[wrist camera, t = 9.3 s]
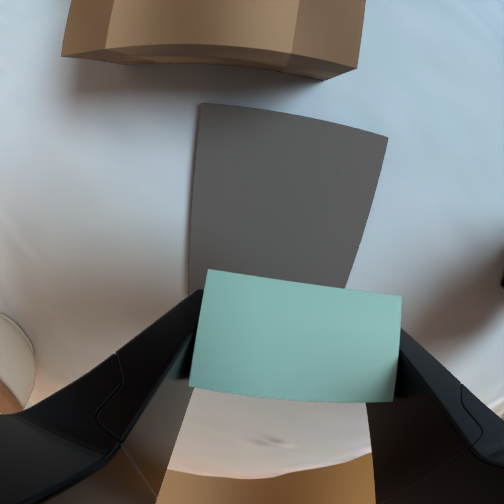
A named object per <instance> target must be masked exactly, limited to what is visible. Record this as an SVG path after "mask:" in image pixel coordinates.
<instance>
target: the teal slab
mask: <svg viewBox="0 0 504 504" xmlns="http://www.w3.org/2000/svg"><path fill="white" fill-rule="evenodd" d="M401 302H402V296H398V295H389V294H381V293H373V292H365V291H358V290H350V289H342V288H335V287H327V286H320V285H313V284H306V283H298V282H291V281H284V280H277V279H271V278H264V277H257V276H251V275H244V274H237V273H231V272H225V271H218V270H212V269H208V272H207V277H206V283H205V288H204V294H203V299H202V305H201V311H200V317H199V323H198V329H197V335H196V341H195V347H194V353H193V360H192V366H191V373H190V380H189V386H191V387H196V388H201V389H207V390H212V391H219V392H225V393H232V394H239V395H246V396H254V397H263V398H272V399H283V400H296V401H313V402H345V403H363V402H393V396H394V389H395V382H396V373H397V364H398V354H399V342H400V327H401Z"/></svg>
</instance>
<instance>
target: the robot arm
mask: <svg viewBox="0 0 504 504" xmlns="http://www.w3.org/2000/svg"><path fill="white" fill-rule="evenodd" d="M501 287H502V288H503V290H504V278H503V280H502V283H501ZM203 294H204V289H197V290H195V291H194V292H193V293H191V294H190V295H189V296H188V297H186V298H185V299H184V300H182V301H181V302H180V303H178V304H177V305H176V306H175V307H173V308H172V309H171V310H169V311H168V312H167V313H165V314H164V315H163V316H162V317H160V318H159V319H158V320H156V321H155V322H154V323H153V324H151V325H150V326H149V327H147V328H146V329H145V330H143V331H142V332H141V333H140V334H138V335H137V336H136V337H134V338H133V339H132V340H131V341H129V342H128V343H127V344H125V345H124V346H123V347H121V348H120V349H119V350H118V351H116V354H112V355H111V356H110V357H108V358H107V359H106V360H105V361H103V362H102V363H100V364H99V365H98V366H96V367H95V368H94V369H92V370H91V371H89V372H88V373H87V374H85V375H83V376H82V377H80V378H79V379H77V380H76V381H74V382H72V383H71V384H69V385H67V386H66V387H64V388H62V389H61V390H59V391H57V392H56V393H54V394H52V395H51V396H49V397H47V398H46V399H44V400H42V401H40V402H39V403H37V404H35V405H34V406H32V407H30V408H28V409H25V410H23V411H20V412H16V413H12V414H0V504H155V503H156V500H157V498H156V497H158V494H159V491H160V488H161V484H162V482H163V479H164V476H165V473H166V470H167V467H168V464H169V461H170V457H171V454H172V451H173V448H174V445H175V442H176V439H177V436H178V433H179V431H180V428H181V425H182V422H183V419H184V416H185V413H186V410H187V407H188V404H189V401H190V398H191V395H192V392H193V389H194V387H191V386H189V380H190V373H191V366H192V360H193V353H194V347H195V341H196V335H197V329H198V323H199V317H200V311H201V305H202V299H203ZM366 408H367V415H368V423H369V431H370V439H371V448H372V457H373V469H374V480H375V481H374V482H375V497H376V504H504V421H503V420H502V419H501V418H500V417H499V416H498V415H496V414H495V413H494V412H493V411H492V410H490V409H489V408H488V407H487V406H486V405H485V404H483V403H482V402H481V401H480V400H479V399H478V398H477V397H476V396H475V395H474V394H472V393H471V392H470V391H469V390H468V389H467V388H466V387H465V386H464V385H463V384H461V382H460V381H459V380H458V379H457V378H456V377H454V376H453V375H452V374H451V373H450V372H449V371H448V370H447V369H446V368H445V367H444V366H443V365H442V364H441V363H439V362H438V361H437V360H436V359H435V358H434V357H433V356H432V355H431V354H430V353H429V352H427V351H426V350H425V349H424V348H423V347H422V346H421V345H420V344H419V343H418V342H416V341H415V340H414V339H413V338H412V337H411V336H410V335H409V334H407V333H406V332H405V331H404V330H403V329H402V328H401V327H400V342H399V354H398V364H397V373H396V382H395V389H394V396H393V402H366Z"/></svg>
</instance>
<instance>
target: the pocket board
mask: <svg viewBox="0 0 504 504" xmlns="http://www.w3.org/2000/svg"><path fill="white" fill-rule="evenodd" d="M365 2H366V0H72V2H71V6H70V10H69V14H68V19H67V24H66V29H65V34H64V40H63V46H62V53H61V57H72V58H81V59H90V60H97V61H104V62H111V63H117V64H123V65H125V64H142V63H200V64H218V65H231V66H241V67H250V68H259V69H266V70H273V71H279V72H285V73H291V74H297V75H302V76H307V77H312V78H317V79H321V80H328V79H331V78H333V77H336V76H338V75H341V74H343V73H346V72H349V71H351V70H354V69H357V64H358V57H359V51H360V44H361V36H362V28H363V20H364V12H365Z"/></svg>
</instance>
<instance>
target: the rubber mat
mask: <svg viewBox="0 0 504 504" xmlns="http://www.w3.org/2000/svg"><path fill="white" fill-rule="evenodd" d="M387 142H388V137H385V136H382V135H379V134H375V133H371V132H368V131H364V130H361V129H357V128H353V127H349V126H345V125H341V124H337V123H332V122H328V121H323V120H319V119H314V118H309V117H304V116H299V115H293V114H288V113H282V112H276V111H269V110H263V109H256V108H248V107H240V106H231V105H221V104H210V103H201V111H200V120H199V129H198V139H197V149H196V159H195V171H194V183H193V197H192V212H191V229H190V250H189V279H188V296H189V295H190V294H191V293H193V292H194V291H195V290H197V289H204V288H205V283H206V277H207V272H208V269H212V270H218V271H225V272H231V273H237V274H244V275H251V276H257V277H264V278H271V279H277V280H284V281H291V282H298V283H306V284H313V285H320V286H327V287H335V288H342V289H344V288H345V286H346V283H347V280H348V277H349V274H350V272H351V269H352V266H353V263H354V260H355V257H356V254H357V251H358V248H359V245H360V242H361V238H362V235H363V232H364V229H365V226H366V222H367V219H368V216H369V212H370V209H371V205H372V202H373V198H374V194H375V191H376V187H377V183H378V179H379V176H380V172H381V168H382V164H383V159H384V155H385V151H386V147H387Z"/></svg>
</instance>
